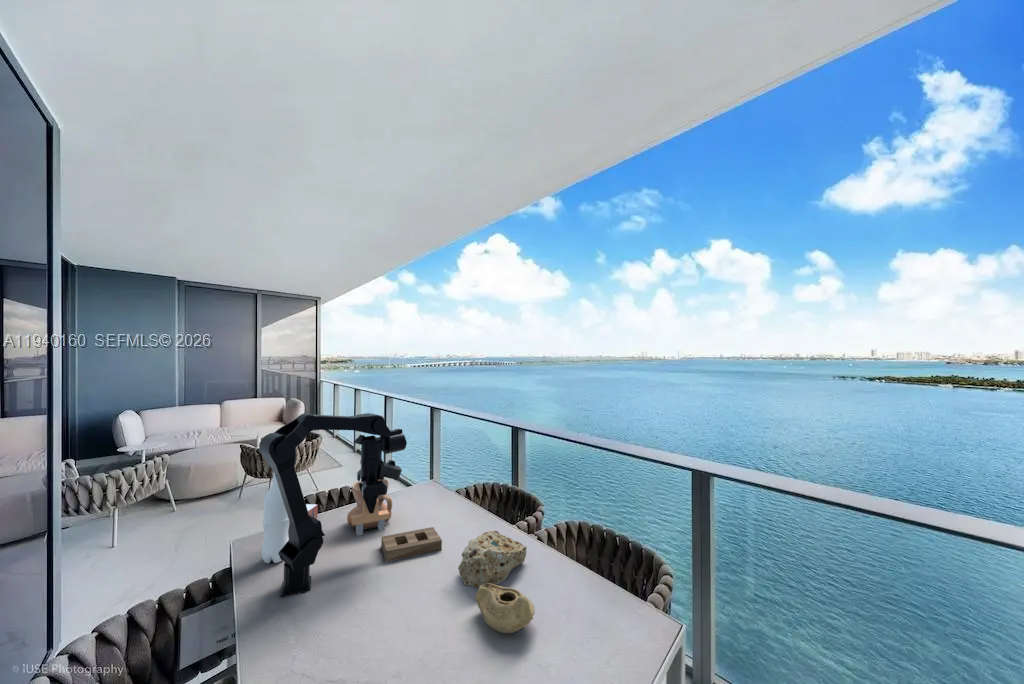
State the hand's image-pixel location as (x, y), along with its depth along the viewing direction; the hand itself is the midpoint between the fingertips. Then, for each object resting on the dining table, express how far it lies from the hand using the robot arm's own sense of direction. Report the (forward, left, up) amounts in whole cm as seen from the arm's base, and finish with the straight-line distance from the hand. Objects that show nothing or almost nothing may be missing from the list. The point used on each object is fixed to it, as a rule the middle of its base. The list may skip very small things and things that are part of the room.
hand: (370, 511), depth 111 cm
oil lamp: (-42, -23, -13) cm, 50 cm away
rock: (-22, -29, -13) cm, 39 cm away
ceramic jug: (+23, -3, -13) cm, 27 cm away
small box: (+18, +18, -13) cm, 29 cm away
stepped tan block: (0, 0, -6) cm, 6 cm away
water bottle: (+10, +24, -13) cm, 29 cm away
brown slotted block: (0, -12, -13) cm, 18 cm away
